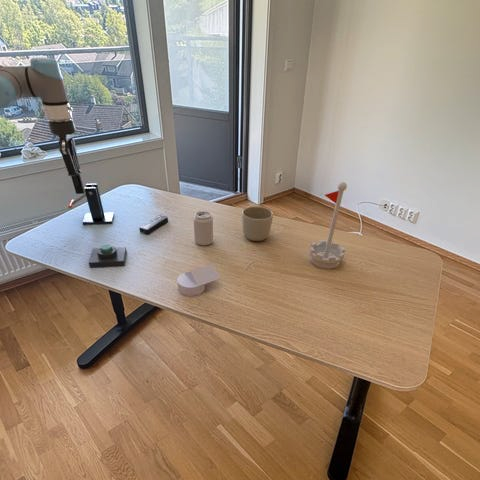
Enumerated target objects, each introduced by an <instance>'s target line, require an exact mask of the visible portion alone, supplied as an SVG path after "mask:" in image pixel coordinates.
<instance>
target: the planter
mask: <svg viewBox="0 0 480 480" xmlns="http://www.w3.org/2000/svg"><path fill="white" fill-rule="evenodd" d="M273 218H274V212H273V210H271V209H270V208H268V207H265V206H257V205H255V206H254V205H253V206H248V207H246V208H244V209H243V210H242V212H241V225H242V233H243V236H244V237H245V238H246V239H248V240H250V241H251V242H261V241H264V240H266V239H267V238H268V237H269V236H270V234H271V229H272V224H273Z"/></svg>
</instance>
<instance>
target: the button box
mask: <svg viewBox="0 0 480 480" xmlns="http://www.w3.org/2000/svg"><path fill="white" fill-rule="evenodd" d="M111 248H112V251H111V252H110V253H102V251H101V246H100V247H97V248H96V247H94V248H92V249H91V253H90V256H89V258H88V266H89V269H96V268H113V267H125V266H126V259H127V255H128V254H127V253H128V252H127V247H126V246H118V247H115V246H113V245H111Z"/></svg>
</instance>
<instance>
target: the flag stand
mask: <svg viewBox="0 0 480 480" xmlns="http://www.w3.org/2000/svg"><path fill="white" fill-rule="evenodd" d="M347 188H348V184H347V182H345V181H340V182H339V183H338V184H337V190H336V191H332V192H330V193H326V194H324V196H325V197H326V198H328V199H329V200H330V201H332V202H333V203H334V204H335V205H334V210H333V214H332V219H331V223H330V224H331V225H330V228H329V231H328V236H327V239H320V240H319V242H318V243H317V241H313V242H312V243H311V244H310V248H309V251H308V252H309V253H308V254H309V256H310V262H311V264H312V265H314V266H316V267H317V268H321V269H327V270H330V269H335V268H337V267H338V266H339V265H340V262H342V261H343V260H344V258H345V252H346V249H345V247H344V246H339V245H340V243H339V242H336V241H333V237H334V233H335V228H336V225H337V220H338V216H339V211H340V207H341V203H342V200H343V195H344V191H346V190H347ZM319 252H322V253H319ZM323 252H325V253H323ZM329 253H331V254H329ZM332 254H333V255H332ZM334 255H335V256H336V257H337V258H336V257H335V256H334ZM338 263H339V264H338Z"/></svg>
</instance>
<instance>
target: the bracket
mask: <svg viewBox="0 0 480 480" xmlns="http://www.w3.org/2000/svg"><path fill="white" fill-rule="evenodd" d="M92 185H93V186H94V187H91V186H92ZM83 188H84V191H85V194H86V197H85V198H86V201H87V205H88V208H89V212H86V213H85V214H84V217H83V220H82V225H83V226H88V225H89V226H91V225H112V224H113V222H114V218H115V212H105V211H104V207H103V206H104V205H103V203H102V199H101V198H102V197H101V193H100V190H99V186H98V183H86V184H85V187H83ZM96 189H97V190H96Z"/></svg>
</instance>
